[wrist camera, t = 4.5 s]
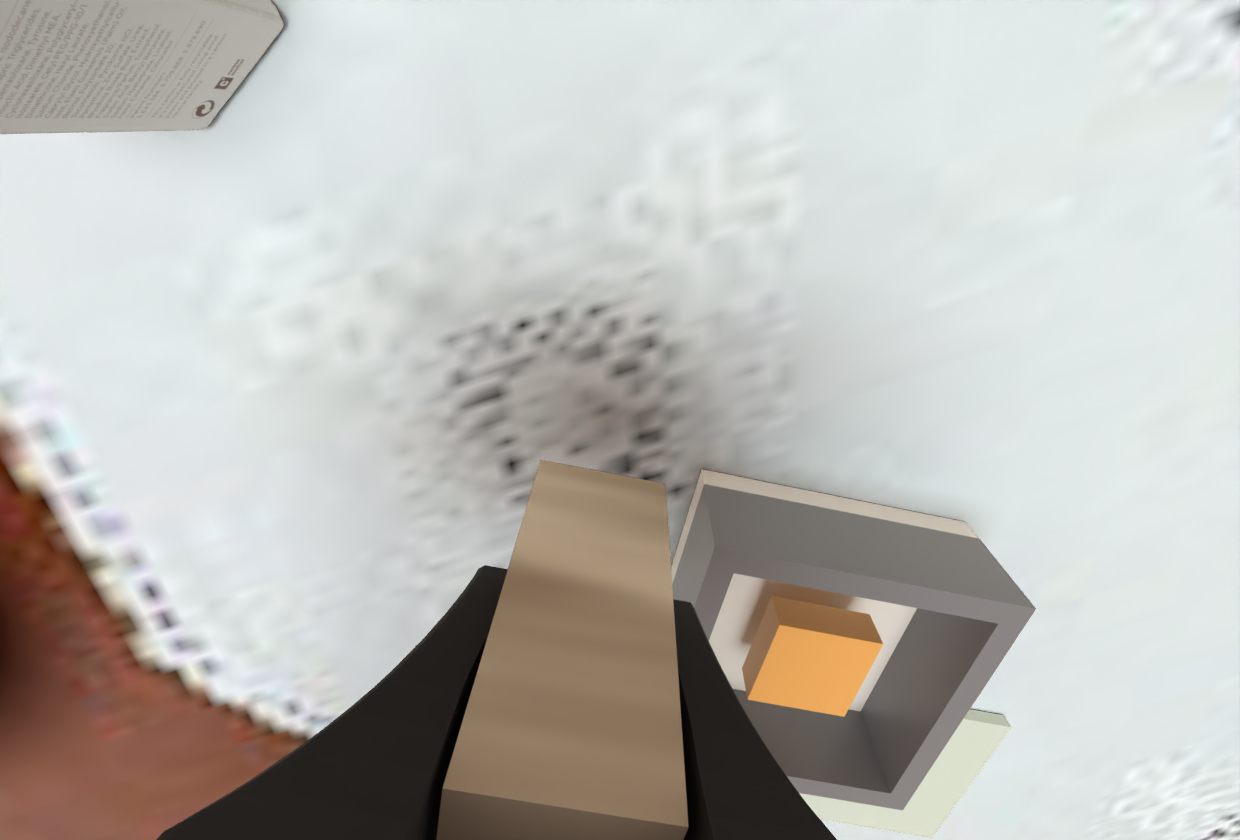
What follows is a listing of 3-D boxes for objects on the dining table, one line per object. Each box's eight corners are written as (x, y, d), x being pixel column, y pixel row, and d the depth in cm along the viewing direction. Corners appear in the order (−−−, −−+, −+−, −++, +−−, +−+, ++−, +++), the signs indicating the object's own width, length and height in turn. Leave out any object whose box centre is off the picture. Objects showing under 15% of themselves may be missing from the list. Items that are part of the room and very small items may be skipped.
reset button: (833, 684, 24) (844, 716, 22) (741, 668, 23) (747, 699, 22) (869, 614, 22) (883, 644, 21) (771, 595, 22) (779, 625, 21)
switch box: (863, 707, 27) (902, 810, 23) (640, 667, 27) (639, 765, 22) (966, 522, 23) (1035, 608, 19) (701, 469, 22) (714, 547, 18)
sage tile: (927, 825, 31) (932, 838, 30) (770, 798, 30) (772, 811, 30) (1004, 715, 27) (1011, 727, 27) (828, 683, 27) (831, 695, 26)
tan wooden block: (638, 581, 16) (636, 955, 9) (524, 560, 16) (425, 924, 9) (665, 483, 15) (688, 827, 8) (540, 460, 15) (442, 788, 7)
